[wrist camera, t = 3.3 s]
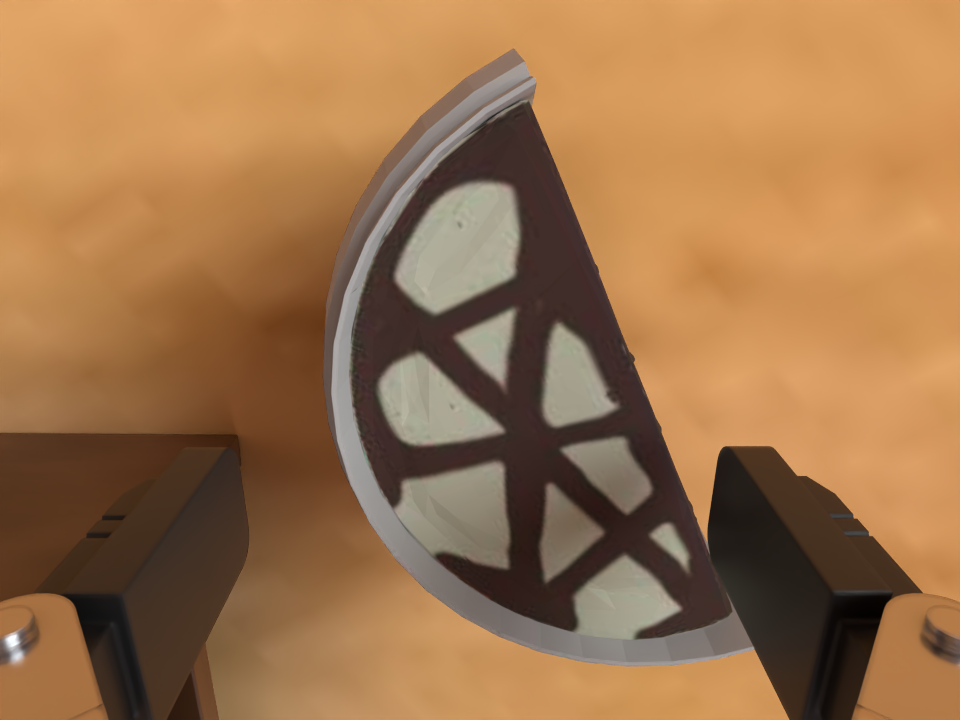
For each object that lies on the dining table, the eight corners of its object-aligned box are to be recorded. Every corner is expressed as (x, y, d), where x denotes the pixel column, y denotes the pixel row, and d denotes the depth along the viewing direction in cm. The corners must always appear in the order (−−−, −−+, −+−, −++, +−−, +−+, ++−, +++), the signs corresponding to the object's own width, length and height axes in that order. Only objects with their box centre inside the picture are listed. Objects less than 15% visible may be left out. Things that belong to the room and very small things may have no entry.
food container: (307, 163, 20) (146, 224, 10) (503, 67, 19) (520, 38, 9) (483, 497, 24) (480, 758, 14) (650, 432, 23) (766, 667, 13)
